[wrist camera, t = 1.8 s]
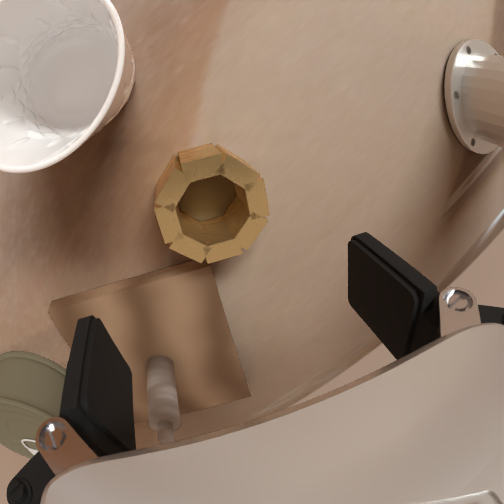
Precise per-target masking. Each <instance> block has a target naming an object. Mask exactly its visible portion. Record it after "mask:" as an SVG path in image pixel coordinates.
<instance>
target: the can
mask: <svg viewBox="0 0 504 504" xmlns="http://www.w3.org/2000/svg"><path fill="white" fill-rule="evenodd" d="M65 374H66V369H64V368H63V367H62V366H60V365H58V364H57V363H55V362H53V361H51V360H49V359H47V358H45V357H43V356H40V355H37V354H34V353H29V352H24V351H10V352H6V353H4V354H2V355H0V443H1V444H2V445H4V446H5V447H7V448H9V449H10V450H12V451H14V452H16V453H18V454H21V455H23V456H26V457H28V458H32V457H33V456H34V455H35V454H36V453H37V452H38V451H39V450H38V449H37V446H36V442H35V437H36V433H37V431H38V429H39V427H40V426H41V425H42V423H43V422H45V421H46V420H48V419H50V418H53V417H59V414H60V406H61V399H62V392H63V386H64V380H65Z"/></svg>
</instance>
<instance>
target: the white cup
mask: <svg viewBox="0 0 504 504" xmlns="http://www.w3.org/2000/svg"><path fill="white" fill-rule="evenodd" d="M134 69H135V64H134V58H133V53H132V50H131V46H130V43H129V40H128V38H127V35H126V33H125V31H124V28H123V26H122V23H121V20H120V18H119V15H118V13H117V11H116V9H115V7H114V6H113V4H112V3H111V1H110V0H0V171H3V172H8V173H28V172H34V171H38V170H41V169H44V168H47V167H49V166H51V165H53V164H55V163H57V162H59V161H61V160H62V159H64V158H66V157H67V156H69V155H70V154H71V153H73V152H74V151H75V150H76V149H77V148H79V147H80V146H81V145H82V144H83V143H85V142H86V141H87V140H88V139H90V138H91V137H92V136H94V135H95V134H96V133H97V132H99V131H100V130H101V129H102V128H103V127H105V126H106V125H107V124H108V123H109V122H110V121H111V120H112V119H113V118H114V117H115V116H116V115H117V114H118V113H119V111H120V110H121V108H122V107H123V106H124V105H125V104H126V103H127V102H128V99H129V97H130V94H131V91H132V88H133V85H134V82H135V70H134Z"/></svg>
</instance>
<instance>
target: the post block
mask: <svg viewBox="0 0 504 504" xmlns="http://www.w3.org/2000/svg"><path fill="white" fill-rule="evenodd" d="M48 314H49V315H50V317H51V318H52V320H53V322H54V323H55V325H56V326H57V328H58V329H59V331H60V333H61V334H62V336H63V337H64V339H65V340H66V342H67V343H68V345H69V346H70V347H72V343H73V338H74V334H75V329H76V325H77V321H78V319H80V318H84V317H87V316H91V315H93V316H94V317H95V318H100V319H101V321H102V323H103V324H104V326H105V328H106V330H107V331H108V333H109V335H110V336H111V338H112V340H113V341H114V343H115V345H116V346H117V348H118V350H119V351H120V353H121V354H122V356H123V358H124V359H125V361H126V362H127V364H128V365H129V367H130V369H131V372H132V385H133V412H134V423H139V422H145V421H149V426H150V428H152V429H153V430H155V431H158V438H159V442H160V443H163V444H166V443H171V442H174V441H175V438H174V431H175V430H177V429H178V428H179V427H180V426H181V420H180V414H184V413H188V412H193V411H197V410H201V409H205V408H209V407H213V406H217V405H220V404H224V403H228V402H232V401H235V400H239V399H242V398H245V397H249V396H251V395H250V392H249V389H248V386H247V383H246V380H245V377H244V374H243V371H242V368H241V365H240V361H239V358H238V355H237V352H236V349H235V346H234V342H233V339H232V336H231V333H230V329H229V326H228V323H227V320H226V316H225V313H224V310H223V306H222V303H221V300H220V296H219V293H218V290H217V286H216V283H215V279H214V276H213V272H212V269H211V265H210V263H209V264H208V263H207V260H206V257H205V259H204V260H203V262H202V263H199V262H197V261H195V260H192V261H189V262H185V263H182V264H178V265H175V266H171V267H168V268H164V269H161V270H157V271H154V272H150V273H147V274H143V275H140V276H136V277H133V278H129V279H126V280H123V281H119V282H116V283H112V284H109V285H105V286H102V287H98V288H95V289H91V290H88V291H85V292H81V293H78V294H74V295H71V296H68V297H64V298H61V299H57V300H54V301H52V302H51V304H50V307H49V309H48Z"/></svg>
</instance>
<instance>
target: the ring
mask: <svg viewBox="0 0 504 504" xmlns="http://www.w3.org/2000/svg"><path fill="white" fill-rule="evenodd" d="M178 153H179V158H180V159H179V158H177V157H175V156H174V155H173V157H172V159H171V160H170V162H169V164H168V165H167V167H166V169H165V170H164V172H163V174H162V175H161V177H160V179H159V181H158V182H157V184H156V193H155V203H154V211H155V214H156V217H157V221H158V224H159V227H160V230H161V233H162V236H163V239H164V242H165V244H166V243H169V249H172V250H174V251H176V252H178V253H180V254H182V255H184V256H186V257H189V258H191V259H193V260H195V261H197V262H199V263H202V262H203V260H204V259H205V257H206V260H207V263H208V264H209V263H213V262H216V261H220V260H223V259H227V258H230V257H234V256H237V255H241V254H242V249H241V247H242V248H244V249H246V250H248V249H249V248H250V246H251V245H252V243H253V242H254V241H255V239H256V238H257V236H258V235H259V233H260V232H261V231H262V229H263V228H264V226H265V225H266V223H267V222H268V220H267V219H266V218H265V216H268V215H270V214H269V208H268V202H267V195H266V189H265V183H264V180H263V179H262V178H261V177H260V174H259V173H258V172H257V171H256V170H255V169H253V168H252V167H251V166H250V165H249V164H248V163H246V162H245V161H244V160H242V159H241V158H239V157H237V156H236V155H234V154H233V153H231V152H229V151H228V150H226V149H224V148H223V147H221V146H220V145H218V144H217V145H216V147H215V146H214V145H213V144H212V143H211V144H206V145H202V146H198V147H195V148H191V149H187V150H183V151H179V152H178ZM216 175H222V176H224V177H226V178H227V179H229V180H231V181H232V182H234V186H235V191H236V197H235V199H234V200H233V202H232V203H231V205H230V206H229V208H228V209H227V211H226V212H225V214H224V216H220V217H216V218H213V219H209V220H205V221H202V222H200V221H198V220H196V219H194V218H192V217H190V216H188V215H186V214H184V213H182V212H180V211H179V207H178V202H179V200H180V199H181V197H182V196H183V194H184V192H185V191H186V189H187V187H188V186H189V184H190V182H194V181H197V180H201V179H205V178H209V177H213V176H216Z"/></svg>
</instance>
